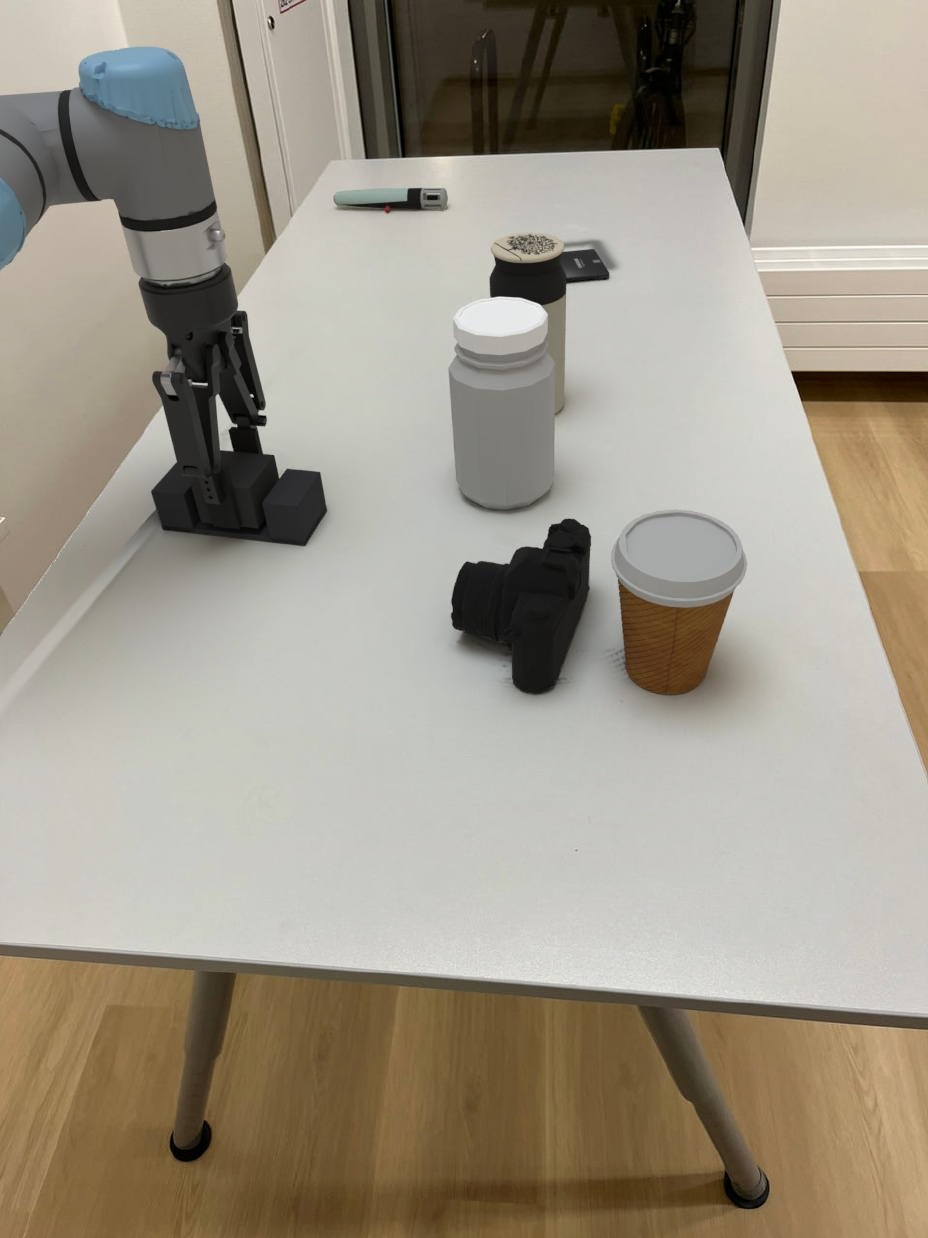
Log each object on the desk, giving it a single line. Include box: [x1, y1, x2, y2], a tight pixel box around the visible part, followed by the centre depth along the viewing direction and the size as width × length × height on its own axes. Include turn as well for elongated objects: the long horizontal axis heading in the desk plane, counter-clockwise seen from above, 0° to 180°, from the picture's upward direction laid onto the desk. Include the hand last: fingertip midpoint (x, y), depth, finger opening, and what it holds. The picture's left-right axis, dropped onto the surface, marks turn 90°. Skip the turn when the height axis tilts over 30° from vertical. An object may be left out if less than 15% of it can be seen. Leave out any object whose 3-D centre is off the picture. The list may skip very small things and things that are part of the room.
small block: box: [190, 449, 280, 528], centre depth 91 cm, size 6×6×4 cm
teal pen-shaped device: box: [333, 187, 449, 214], centre depth 162 cm, size 3×4×20 cm
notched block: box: [150, 461, 328, 547], centre depth 92 cm, size 15×6×4 cm, turn 76°
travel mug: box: [489, 232, 567, 414], centre depth 102 cm, size 8×8×18 cm
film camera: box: [450, 518, 592, 695], centre depth 76 cm, size 15×10×9 cm, turn 161°
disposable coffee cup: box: [610, 509, 748, 695], centre depth 71 cm, size 10×10×12 cm
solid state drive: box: [560, 248, 610, 283], centre depth 138 cm, size 7×10×1 cm
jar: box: [448, 297, 556, 511], centre depth 90 cm, size 10×10×18 cm
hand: (242, 505), depth 93 cm, fingers closed on small block, 6 cm apart
